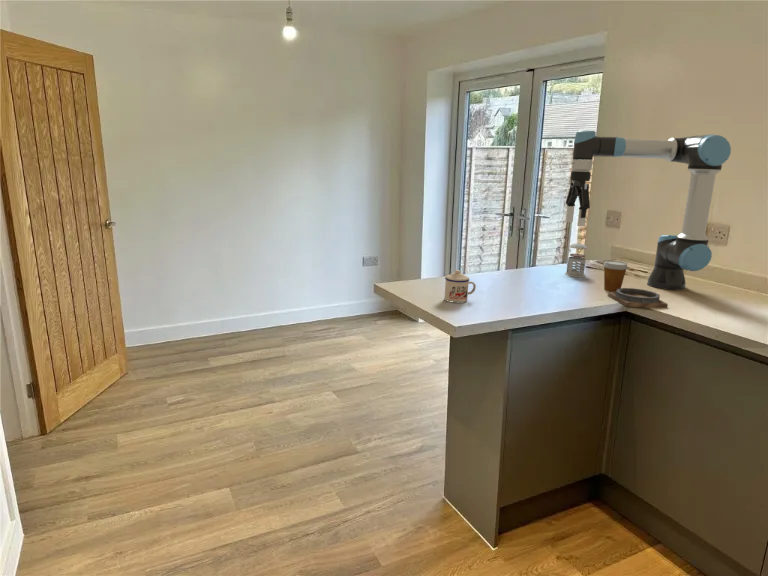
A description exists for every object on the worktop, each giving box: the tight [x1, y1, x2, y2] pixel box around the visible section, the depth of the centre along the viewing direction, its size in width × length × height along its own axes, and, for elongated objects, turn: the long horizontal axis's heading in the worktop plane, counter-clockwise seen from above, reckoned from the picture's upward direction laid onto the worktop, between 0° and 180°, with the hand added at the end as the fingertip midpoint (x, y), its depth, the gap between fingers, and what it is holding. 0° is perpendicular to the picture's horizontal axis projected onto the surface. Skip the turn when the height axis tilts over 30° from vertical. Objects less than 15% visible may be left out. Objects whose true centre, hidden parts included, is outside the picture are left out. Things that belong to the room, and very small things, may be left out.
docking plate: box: [607, 287, 669, 309], centre depth 211 cm, size 16×16×4 cm
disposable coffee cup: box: [603, 260, 629, 292], centre depth 227 cm, size 10×10×12 cm
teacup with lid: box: [444, 269, 477, 303], centre depth 203 cm, size 12×9×12 cm
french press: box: [562, 227, 588, 278], centre depth 255 cm, size 10×12×25 cm
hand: (574, 224), depth 219 cm, fingers open, 13 cm apart
